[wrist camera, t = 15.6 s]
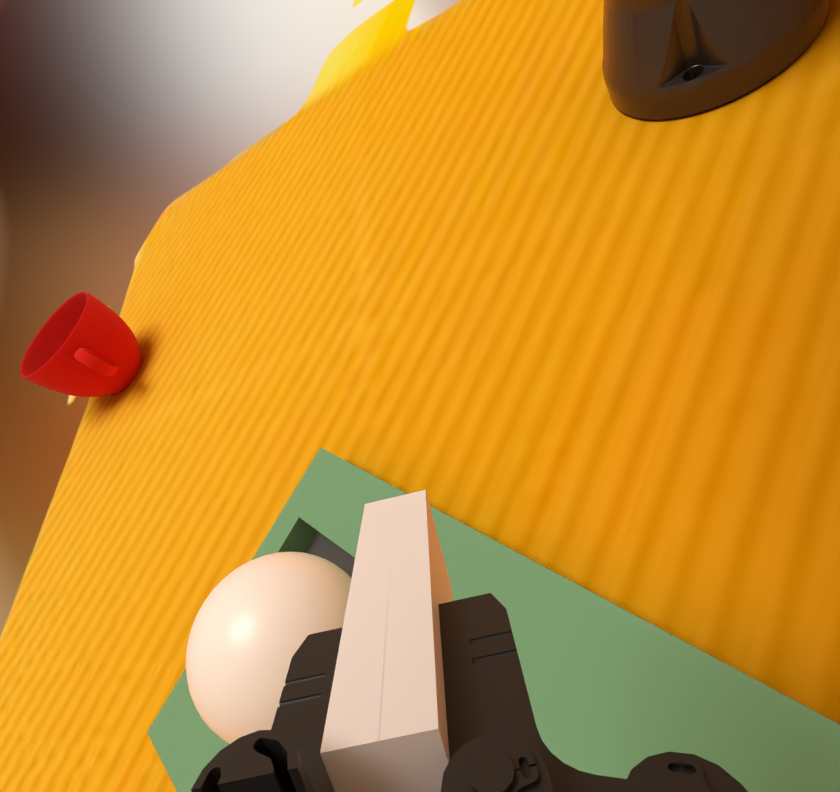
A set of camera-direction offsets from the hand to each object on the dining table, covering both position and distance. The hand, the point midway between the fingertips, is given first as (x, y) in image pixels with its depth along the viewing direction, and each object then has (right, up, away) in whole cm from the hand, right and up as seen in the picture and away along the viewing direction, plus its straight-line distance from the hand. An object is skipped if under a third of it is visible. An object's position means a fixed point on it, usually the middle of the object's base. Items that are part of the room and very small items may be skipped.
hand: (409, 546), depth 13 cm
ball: (-7, -10, +17) cm, 21 cm away
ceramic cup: (-39, +6, +60) cm, 72 cm away
